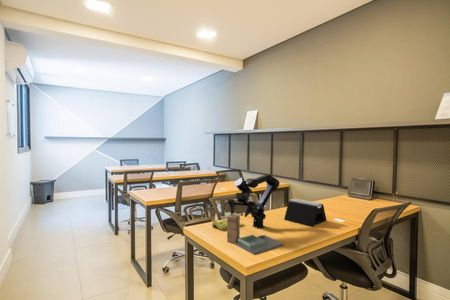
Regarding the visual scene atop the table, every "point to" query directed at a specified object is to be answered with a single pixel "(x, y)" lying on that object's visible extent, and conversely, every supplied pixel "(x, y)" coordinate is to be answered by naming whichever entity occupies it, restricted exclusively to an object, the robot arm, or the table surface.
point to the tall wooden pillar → (233, 228)
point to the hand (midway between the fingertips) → (238, 215)
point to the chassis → (257, 243)
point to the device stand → (305, 212)
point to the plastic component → (221, 224)
